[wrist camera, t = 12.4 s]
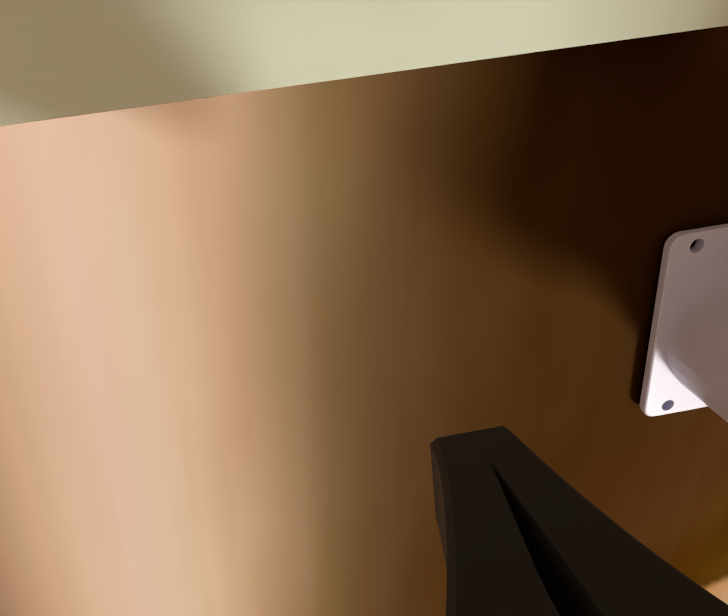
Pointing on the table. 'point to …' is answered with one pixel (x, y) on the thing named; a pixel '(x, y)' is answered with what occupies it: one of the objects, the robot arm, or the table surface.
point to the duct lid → (283, 43)
